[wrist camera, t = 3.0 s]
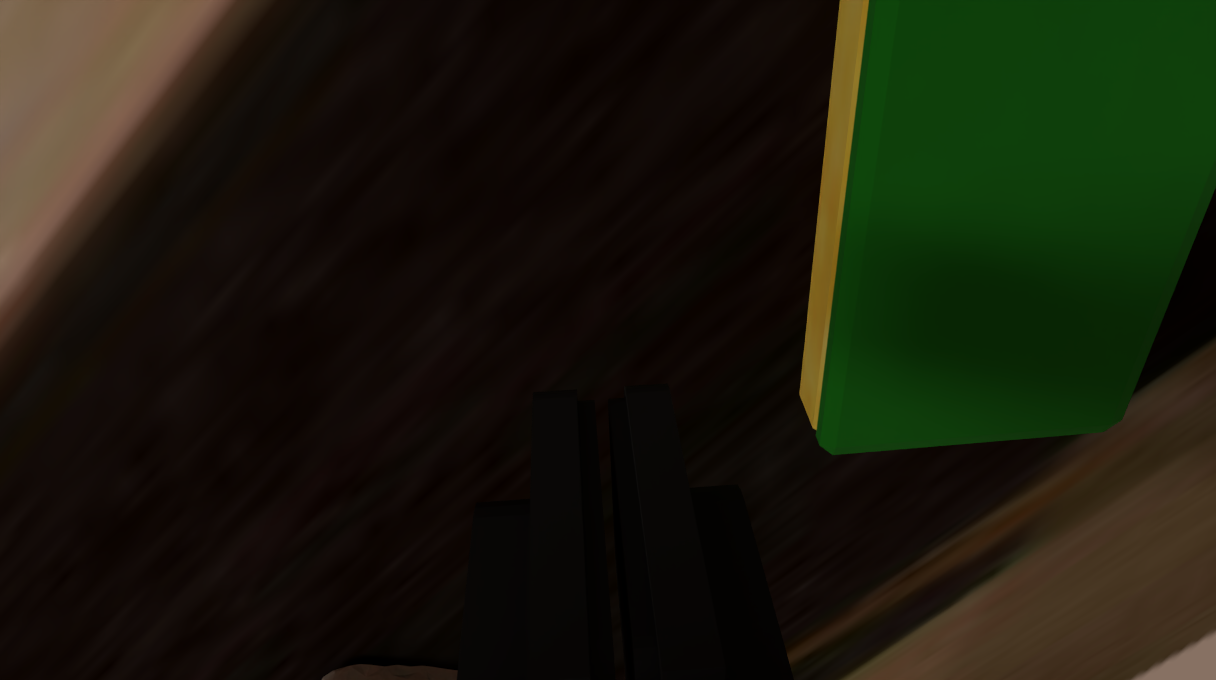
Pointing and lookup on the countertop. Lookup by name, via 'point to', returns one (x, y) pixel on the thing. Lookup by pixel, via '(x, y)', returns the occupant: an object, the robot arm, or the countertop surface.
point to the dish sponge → (1002, 214)
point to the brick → (391, 673)
